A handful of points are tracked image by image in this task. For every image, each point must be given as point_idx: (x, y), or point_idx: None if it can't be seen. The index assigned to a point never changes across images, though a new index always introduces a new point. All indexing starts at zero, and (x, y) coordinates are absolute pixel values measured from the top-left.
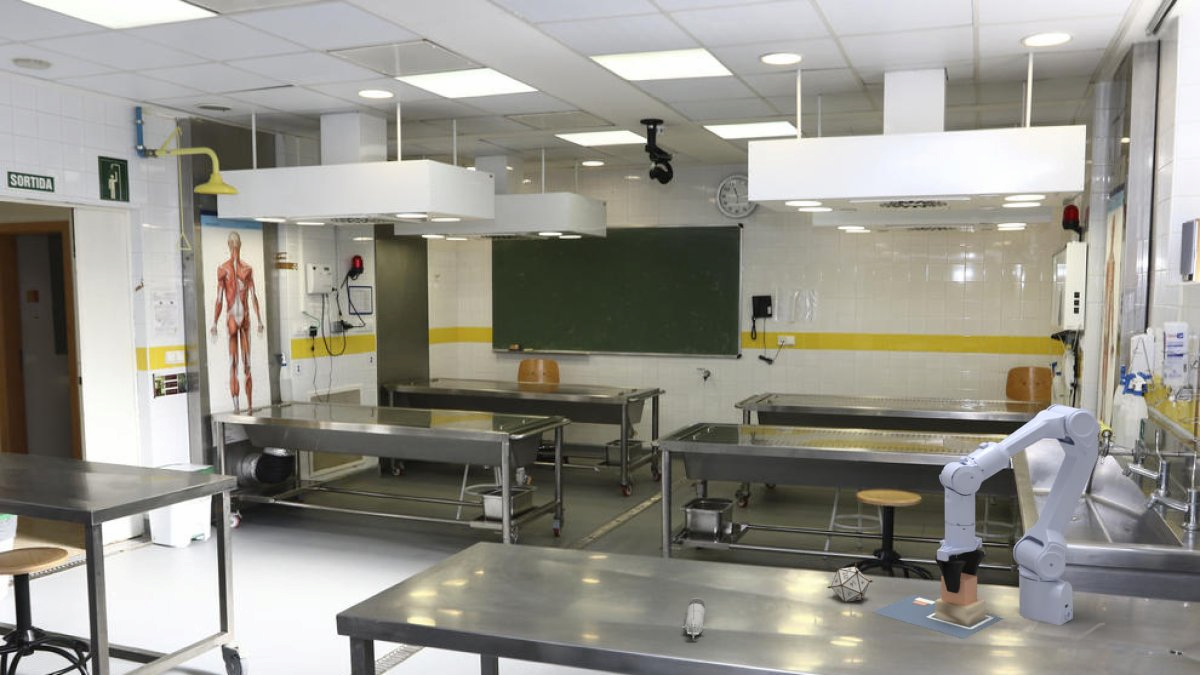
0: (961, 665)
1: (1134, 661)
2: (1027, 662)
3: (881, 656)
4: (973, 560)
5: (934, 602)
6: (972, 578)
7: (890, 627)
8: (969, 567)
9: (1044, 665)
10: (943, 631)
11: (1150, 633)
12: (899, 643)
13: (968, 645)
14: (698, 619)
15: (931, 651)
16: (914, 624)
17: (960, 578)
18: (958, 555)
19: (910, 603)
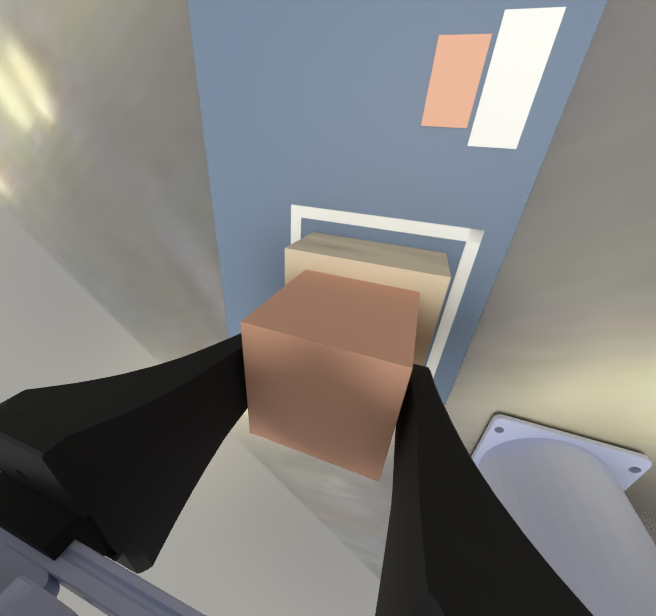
0: (150, 353)
1: (360, 549)
2: (242, 434)
3: (51, 218)
4: (381, 592)
5: (502, 145)
6: (328, 461)
7: (171, 130)
8: (399, 497)
9: (251, 453)
10: (229, 293)
11: None
12: (120, 217)
13: None
14: None
15: (149, 294)
16: (212, 202)
17: (283, 415)
18: (416, 546)
19: (421, 36)
